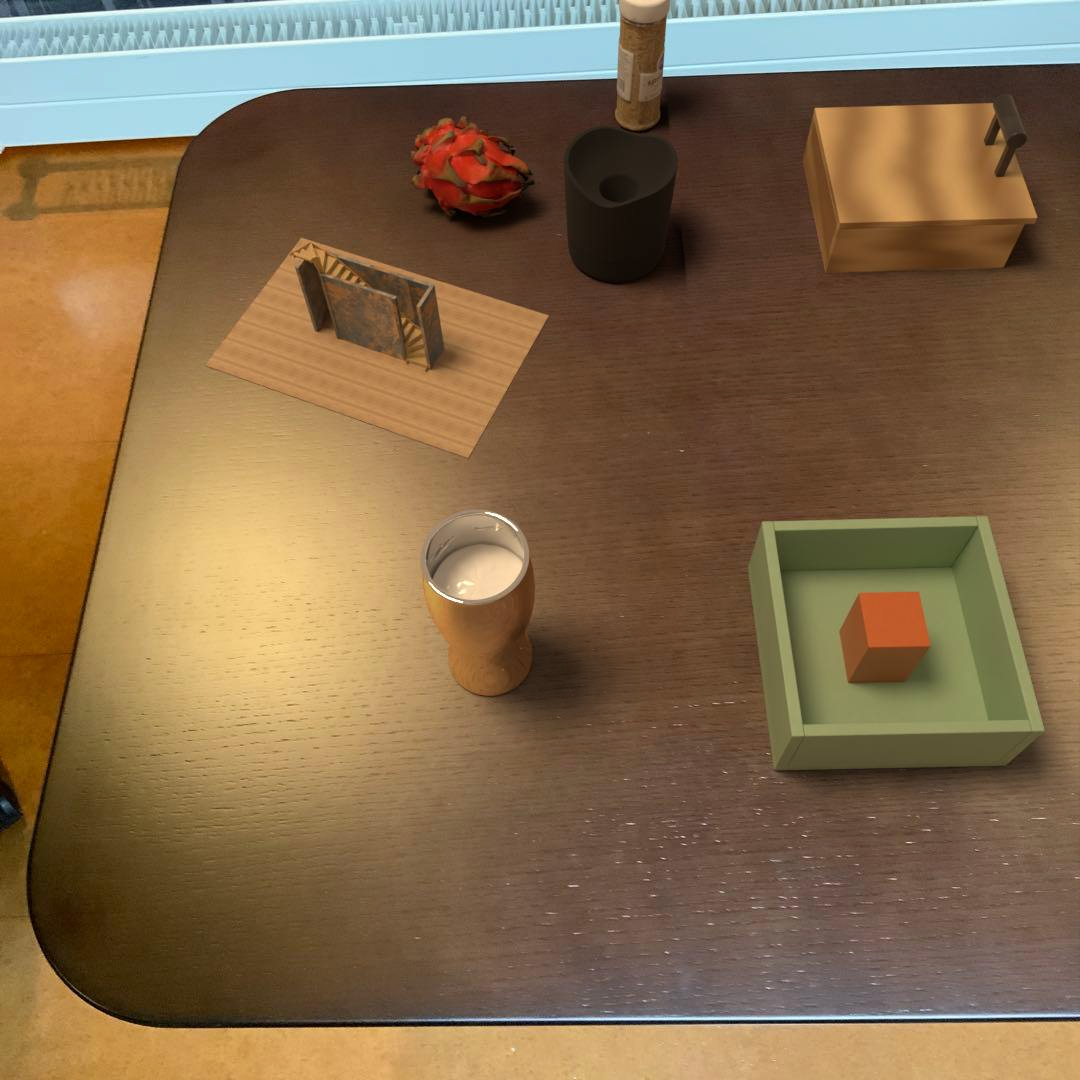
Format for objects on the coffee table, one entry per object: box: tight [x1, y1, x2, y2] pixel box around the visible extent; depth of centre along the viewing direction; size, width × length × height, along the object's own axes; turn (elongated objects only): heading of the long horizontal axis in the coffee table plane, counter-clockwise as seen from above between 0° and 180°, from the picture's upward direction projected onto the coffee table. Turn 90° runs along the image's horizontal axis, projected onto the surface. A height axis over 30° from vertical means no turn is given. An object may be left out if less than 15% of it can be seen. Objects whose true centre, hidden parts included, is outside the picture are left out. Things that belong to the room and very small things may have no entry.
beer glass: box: [419, 508, 536, 697], centre depth 69 cm, size 7×7×15 cm
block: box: [839, 592, 931, 683], centre depth 71 cm, size 4×4×6 cm
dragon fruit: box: [410, 115, 537, 218], centre depth 96 cm, size 8×8×12 cm
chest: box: [802, 114, 1026, 274], centre depth 94 cm, size 16×15×6 cm
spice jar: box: [614, 0, 671, 132], centre depth 99 cm, size 5×5×13 cm
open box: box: [747, 515, 1046, 771], centre depth 72 cm, size 16×16×7 cm
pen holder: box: [563, 125, 679, 283], centre depth 91 cm, size 9×9×10 cm
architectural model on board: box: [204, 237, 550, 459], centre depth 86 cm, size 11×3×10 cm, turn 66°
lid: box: [813, 93, 1039, 229], centre depth 89 cm, size 16×15×5 cm
